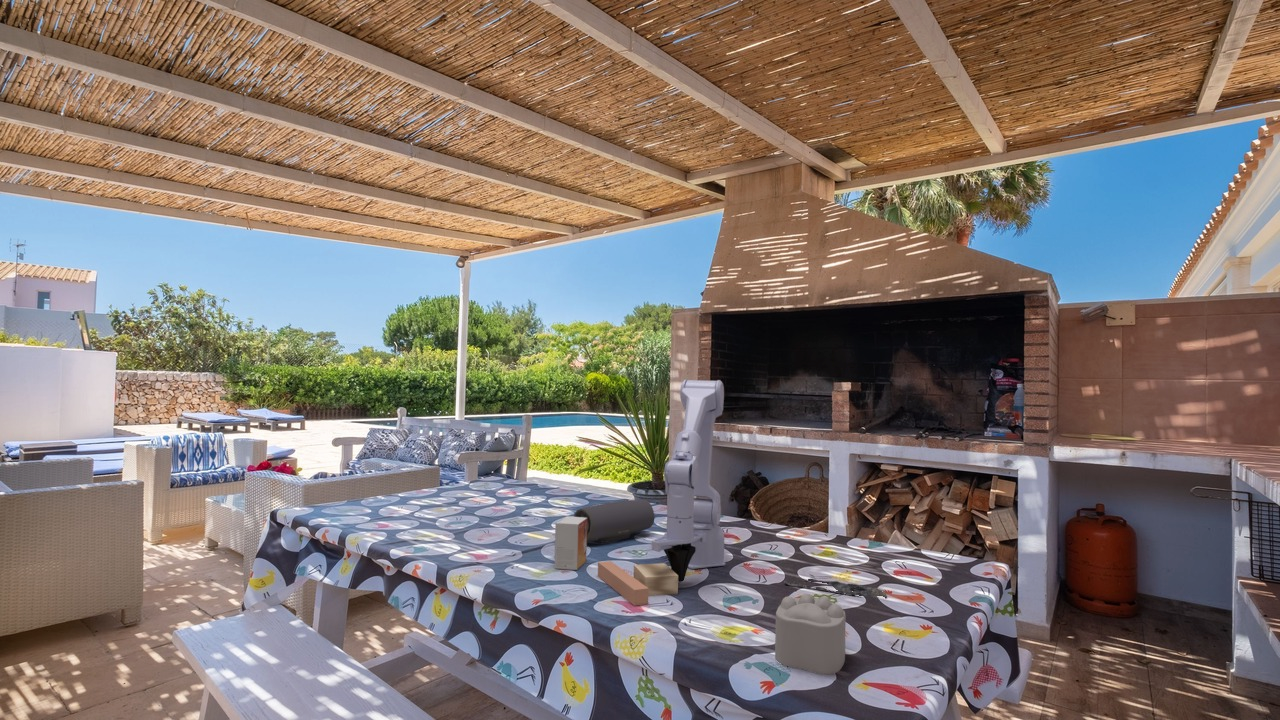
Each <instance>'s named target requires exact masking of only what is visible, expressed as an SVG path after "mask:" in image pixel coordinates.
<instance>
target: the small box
mask: <svg viewBox="0 0 1280 720" xmlns="http://www.w3.org/2000/svg"><path fill="white" fill-rule="evenodd" d="M587 520H588V518H584V517H574V516H565V517H563V518H562V519H561V520H559V521H557V522H556V523H555V529H554V530H555V531H554V537H555V538H554V566H553V569H555V570H557V569H559V570H570V571H578V570H579V569H580V568H581V567H582V565H584V564H585V563H586V562H587V551H588V550H587V549H588V546H587V545H588V541H587Z"/></svg>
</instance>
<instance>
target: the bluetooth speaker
mask: <svg viewBox="0 0 1280 720" xmlns="http://www.w3.org/2000/svg"><path fill="white" fill-rule="evenodd" d="M573 517H584V518H588V520H587V542H588V541H596V540H597V542H599V541H600V542H599V543H608V542H607V541H610V542H614V541H613V540H615V541H620V540H624V539H628V537H629V538H630V537H631V535H632V534H636V533H638V532H642V531H646V530H647V529H648V530H649V529H650V528H651V527H652V526H653V525H654V522H655V512H654V509H653V506H652V504H651V502H649V501H648V500H645V499H632V500H630V499H629V500H622V501H621V500H620V501H611V502H608V503H600V504H595V505H590V506H586V507H582V508H578V509H577V510H576V511H575V513H574V515H573ZM619 539H620V540H619Z"/></svg>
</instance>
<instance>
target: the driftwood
mask: <svg viewBox="0 0 1280 720" xmlns="http://www.w3.org/2000/svg"><path fill="white" fill-rule="evenodd" d="M808 581H811V582H822V583H827V584H828V585H831V586H833V587H834V588H835V589H836V590H838V591H836V592H834V591H833V592H832V593H837V594H840V593H847V594H846V596H852V595H859V596H865V597H867V596H883V597H886V598H887V593H886V592H885V591H883V590H882V589H880V588H877V587H871V586H864V585H861V584H860V585H859V584H858V583H844V582H840V581H836V580H819V579H815V578H808ZM783 582H784V583H785V584H787V585H788V586H792V587H801V588H804V589H809V588H812V587H811V586H809V585H805V584H799V583H798V584H794V583H791V582H788V581H787V580H784V581H783ZM790 583H791V584H790ZM802 585H803V586H802ZM804 586H805V587H804ZM814 588H816V589H815V590H820V591H823V592H825V591H826V592H829V593H831V592H830V591H829V590H827V588H826V587H824V586H816V587H814ZM852 591H853V592H852ZM882 591H883V592H882ZM838 592H839V593H838Z"/></svg>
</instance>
